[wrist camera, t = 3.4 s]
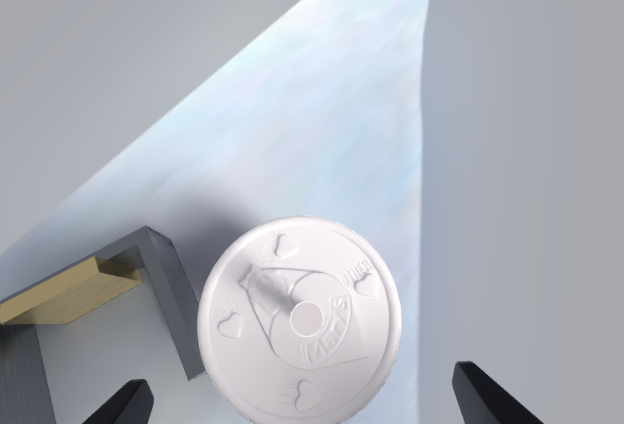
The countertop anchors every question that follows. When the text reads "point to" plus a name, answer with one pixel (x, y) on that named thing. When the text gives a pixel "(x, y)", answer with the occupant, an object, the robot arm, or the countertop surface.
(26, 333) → the bracket
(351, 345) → the smoothie
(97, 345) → the countertop surface
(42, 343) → the countertop surface
